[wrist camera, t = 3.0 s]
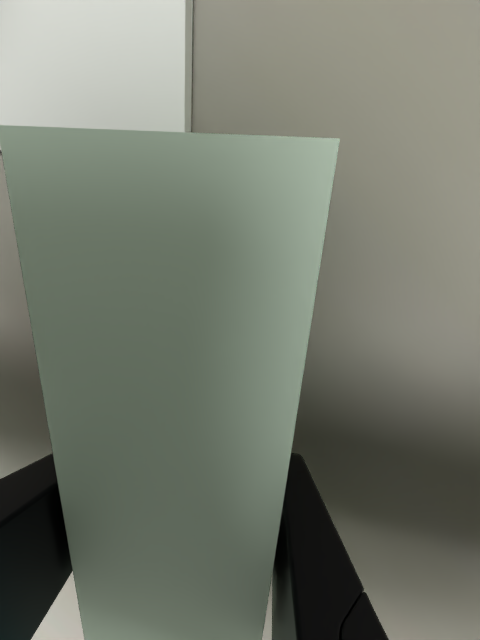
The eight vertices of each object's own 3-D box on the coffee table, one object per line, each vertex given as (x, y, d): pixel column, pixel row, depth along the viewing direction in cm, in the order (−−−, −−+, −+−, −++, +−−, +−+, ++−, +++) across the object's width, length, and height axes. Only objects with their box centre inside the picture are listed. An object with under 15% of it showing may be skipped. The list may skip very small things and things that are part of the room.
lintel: (325, 172, 7) (340, 138, 3) (263, 593, 12) (241, 769, 8) (150, 163, 8) (-4, 124, 4) (160, 564, 12) (97, 715, 9)
